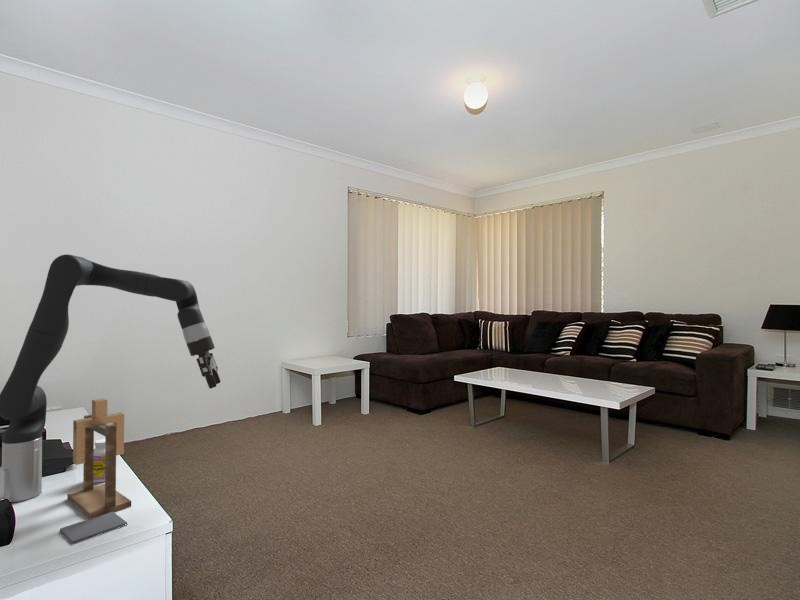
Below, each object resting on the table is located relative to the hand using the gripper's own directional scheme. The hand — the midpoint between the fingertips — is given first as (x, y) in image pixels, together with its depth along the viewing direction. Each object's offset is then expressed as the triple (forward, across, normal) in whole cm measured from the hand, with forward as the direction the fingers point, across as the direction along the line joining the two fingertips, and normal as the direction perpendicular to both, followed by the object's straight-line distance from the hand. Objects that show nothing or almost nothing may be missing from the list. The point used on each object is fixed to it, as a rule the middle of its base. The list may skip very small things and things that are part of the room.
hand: (215, 385), depth 144 cm
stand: (+20, +6, -40) cm, 45 cm away
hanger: (+8, +7, -35) cm, 37 cm away
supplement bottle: (+18, -13, -45) cm, 50 cm away
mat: (+22, +23, -35) cm, 47 cm away
